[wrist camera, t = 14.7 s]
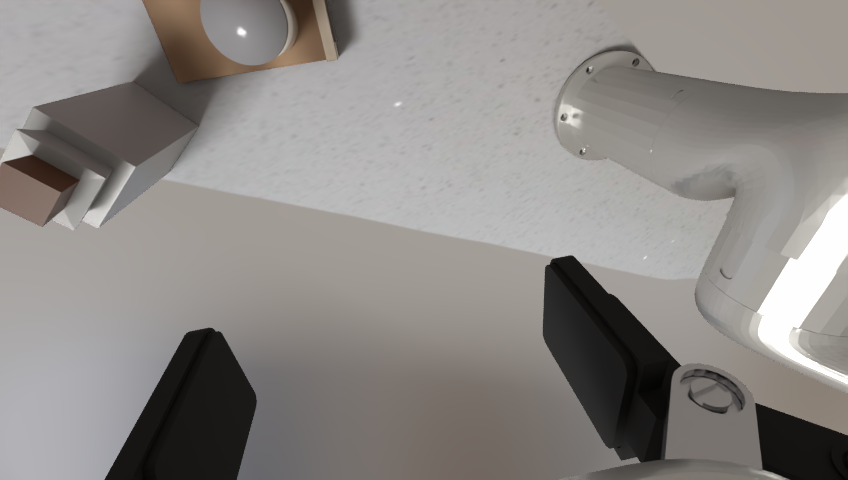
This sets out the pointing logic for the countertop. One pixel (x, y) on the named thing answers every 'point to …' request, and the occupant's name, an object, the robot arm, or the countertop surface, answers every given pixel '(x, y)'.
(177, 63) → the shelf
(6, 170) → the perfume bottle
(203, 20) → the jar
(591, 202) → the countertop surface
